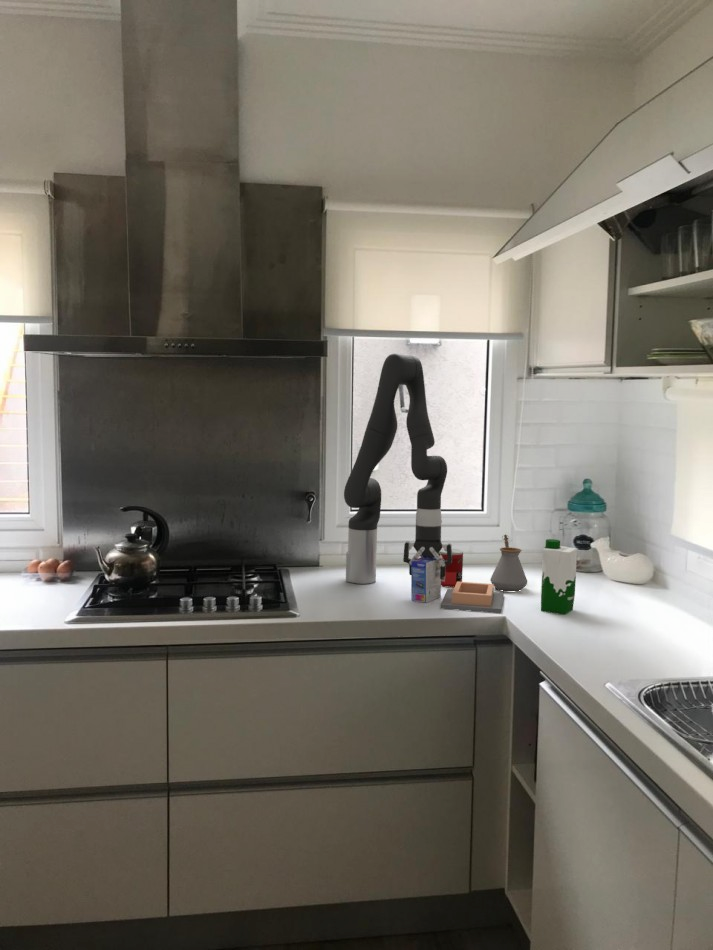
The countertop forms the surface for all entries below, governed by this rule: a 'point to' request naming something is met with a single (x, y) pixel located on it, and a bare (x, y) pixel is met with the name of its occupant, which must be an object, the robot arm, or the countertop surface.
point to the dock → (473, 597)
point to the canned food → (453, 568)
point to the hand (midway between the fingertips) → (427, 577)
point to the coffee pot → (509, 570)
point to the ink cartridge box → (425, 579)
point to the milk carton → (558, 577)
